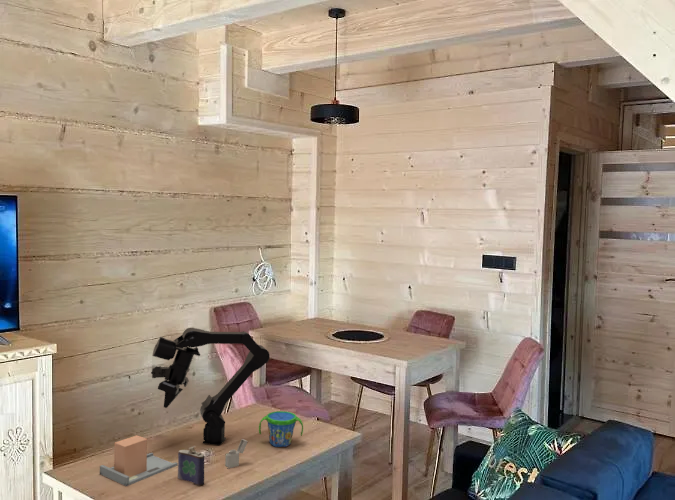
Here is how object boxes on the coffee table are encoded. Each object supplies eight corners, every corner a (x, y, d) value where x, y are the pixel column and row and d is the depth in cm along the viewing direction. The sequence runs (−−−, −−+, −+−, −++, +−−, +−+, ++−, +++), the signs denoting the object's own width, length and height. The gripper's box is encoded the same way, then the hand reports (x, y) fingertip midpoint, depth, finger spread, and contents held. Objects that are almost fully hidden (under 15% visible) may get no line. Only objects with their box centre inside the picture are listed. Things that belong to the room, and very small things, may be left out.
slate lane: (151, 456, 199) (151, 447, 199) (177, 466, 191) (177, 457, 191) (99, 475, 183) (99, 465, 183) (126, 487, 176) (126, 477, 176)
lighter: (227, 468, 191) (228, 444, 191) (225, 467, 192) (225, 442, 192) (247, 463, 196) (247, 439, 195) (244, 461, 197) (245, 437, 196)
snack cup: (304, 439, 218) (305, 412, 217) (300, 451, 207) (301, 422, 207) (261, 437, 219) (262, 409, 218) (255, 448, 208) (256, 419, 208)
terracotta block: (136, 466, 189) (136, 435, 189) (146, 470, 186) (147, 439, 186) (114, 475, 183) (114, 442, 182) (124, 479, 180) (124, 446, 179)
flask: (175, 480, 182) (176, 445, 181) (182, 476, 185) (183, 442, 184) (200, 487, 178) (201, 451, 177) (206, 483, 181) (207, 448, 180)
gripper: (166, 352, 216) (150, 394, 215) (151, 359, 198) (134, 405, 197) (195, 363, 216) (180, 404, 216) (183, 371, 198) (166, 416, 197)
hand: (165, 407), depth 206 cm, fingers closed
